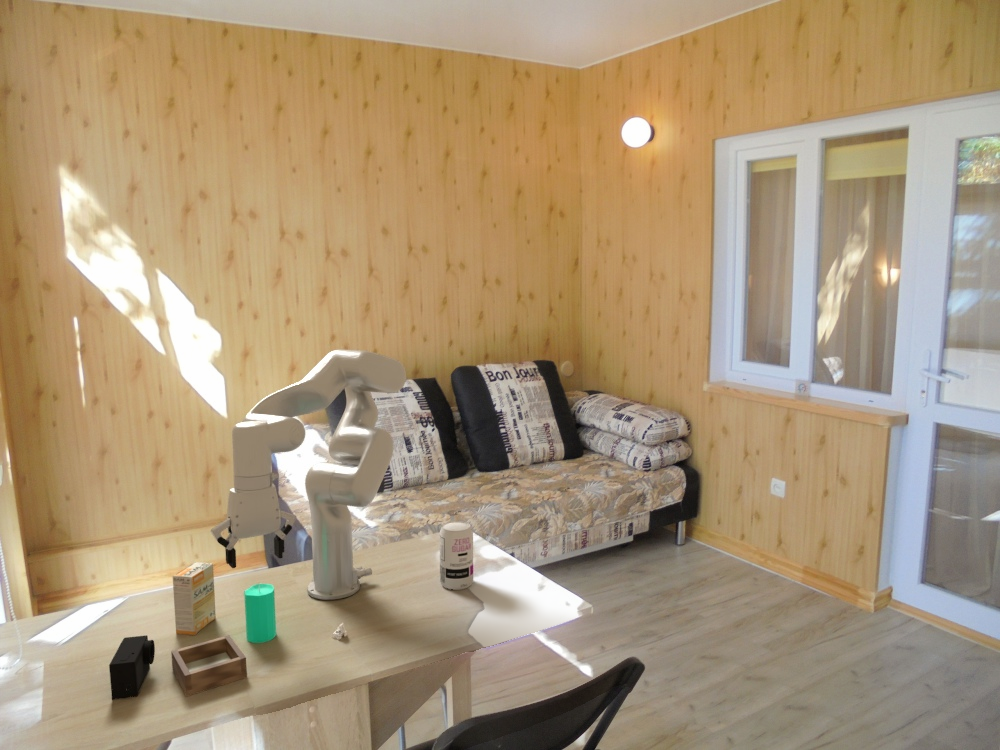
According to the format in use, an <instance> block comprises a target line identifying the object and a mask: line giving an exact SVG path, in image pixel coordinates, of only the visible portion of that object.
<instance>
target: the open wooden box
mask: <svg viewBox="0 0 1000 750" xmlns="http://www.w3.org/2000/svg"><path fill="white" fill-rule="evenodd" d="M171 667H172V672H173V674H174V675H175V678H176V680H177V681H178V683H179V685H180V688H181V689H182V691H183V693H184V694H185V697H188V696H192V695H195V694H197V693H201V692H204V691H208V690H211V689H214V688H217V687H221V686H223V685H226V684H229V683H232V682H236V681H239V680H240V681H241V680H243V679H246V678H247V677H248V674H247V673H248V670H247V657H246V655H245V654H244V653H243V651H242V650H241V649H240V647H239V646H238V644H237V643H236V642H235V641H234V639H233V638H232V637H231V635H229V634H228V635H224V636H220V637H217V638H214V639H210V640H207V641H202V642H199V643H196V644H195V643H194V644H192V645H189V646H185V647H182V648H177V649H174V650H171Z"/></svg>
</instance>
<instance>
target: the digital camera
mask: <svg viewBox="0 0 1000 750" xmlns="http://www.w3.org/2000/svg"><path fill="white" fill-rule="evenodd" d="M148 636H149V635H139V636H138V635H137V636H130V637H129V636H128V637H123V639H122V640H121V643H120V645H118V648H117V650H116V652H115V654H114V656H113V657H112V659H111V661H110V663H109V665H108V666H109V679H110V691H111V700H113V701H114V700H121V699H130V698H136V697H138V696H139V693H140V691H141V689H142V687H143V684H144V682H145V680H146V679H147V675H148V673H149V671H150V668H151V666H150V665H152V664H154V660H155V655H156V654H155V653H156V648H155V641H154V640H153V639H148Z"/></svg>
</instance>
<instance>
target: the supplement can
mask: <svg viewBox="0 0 1000 750" xmlns="http://www.w3.org/2000/svg"><path fill="white" fill-rule="evenodd" d="M439 582H440V584H441V585H442V586H443V587H444V588H445V589H447V588H448V590H451V589H453V590H452V591H461V590H465V589H467V588H469V587H470V586H471V585H473V583H474V531H473V529H472V526H471V524H470V523H469V522H465V521H462V520H461V521H459V520H458V521H448V522H445V523H443V524H442V526H441V527H440V531H439Z"/></svg>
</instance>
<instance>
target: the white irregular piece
mask: <svg viewBox="0 0 1000 750" xmlns="http://www.w3.org/2000/svg"><path fill="white" fill-rule="evenodd" d="M347 635H348V631H347V630H346V627H345V623H344V622H342V623H340V624H339V626H338V627H336V630H335V631H334V632H333V633H332V636H331V639H336V640H338V641H339V640H341V639H342V637H343V636H344V637H346V636H347Z"/></svg>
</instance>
